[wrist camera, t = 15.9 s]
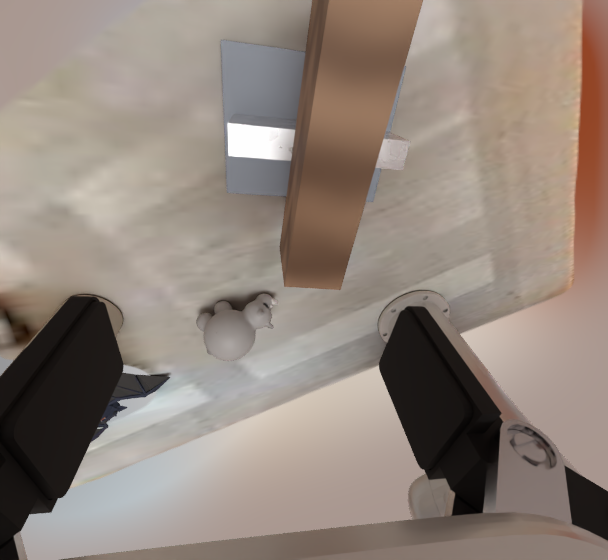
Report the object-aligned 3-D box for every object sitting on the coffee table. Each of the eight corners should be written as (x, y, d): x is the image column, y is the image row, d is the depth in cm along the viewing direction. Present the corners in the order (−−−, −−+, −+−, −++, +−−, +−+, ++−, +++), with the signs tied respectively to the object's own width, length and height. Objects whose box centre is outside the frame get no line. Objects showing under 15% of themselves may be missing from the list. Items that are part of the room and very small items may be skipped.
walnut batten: (325, 251, 32) (340, 289, 26) (279, 247, 31) (284, 286, 25) (382, 5, 21) (429, -22, 15) (314, -14, 20) (336, -49, 14)
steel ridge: (376, 153, 34) (402, 170, 28) (234, 140, 31) (228, 155, 25) (382, 128, 33) (410, 141, 26) (233, 113, 30) (227, 123, 24)
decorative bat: (112, 367, 45) (171, 388, 50) (120, 346, 48) (175, 368, 53) (21, 450, 53) (80, 459, 59) (33, 427, 57) (87, 438, 62)
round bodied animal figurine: (274, 303, 50) (297, 330, 43) (213, 345, 48) (227, 380, 41) (256, 271, 46) (278, 296, 39) (187, 315, 43) (198, 350, 37)
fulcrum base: (369, 197, 39) (373, 202, 37) (228, 188, 36) (226, 192, 34) (400, 66, 31) (406, 66, 30) (222, 41, 28) (220, 39, 27)
